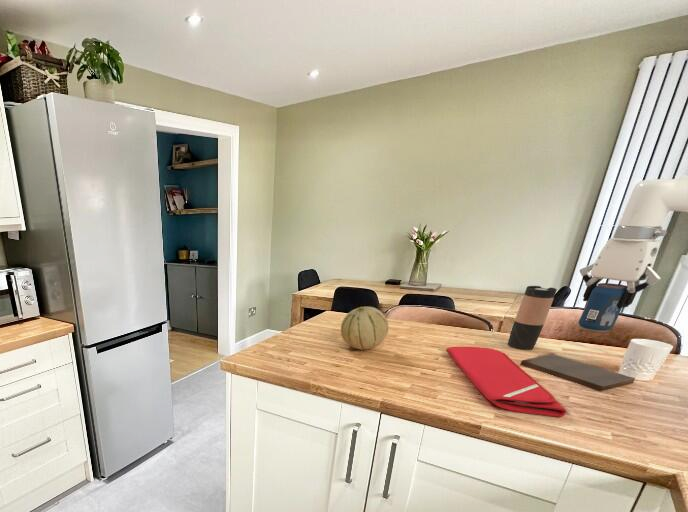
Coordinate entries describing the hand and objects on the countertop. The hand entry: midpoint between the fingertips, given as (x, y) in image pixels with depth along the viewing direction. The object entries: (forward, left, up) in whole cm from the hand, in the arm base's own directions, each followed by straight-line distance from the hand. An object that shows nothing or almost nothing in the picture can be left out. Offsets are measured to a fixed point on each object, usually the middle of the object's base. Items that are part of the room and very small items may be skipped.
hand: (604, 303), depth 107 cm
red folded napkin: (+5, +26, -21) cm, 34 cm away
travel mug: (+21, -9, -21) cm, 31 cm away
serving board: (0, +1, -21) cm, 21 cm away
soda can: (0, 0, -7) cm, 7 cm away
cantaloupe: (+40, +42, -21) cm, 61 cm away
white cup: (-8, -12, -21) cm, 25 cm away
